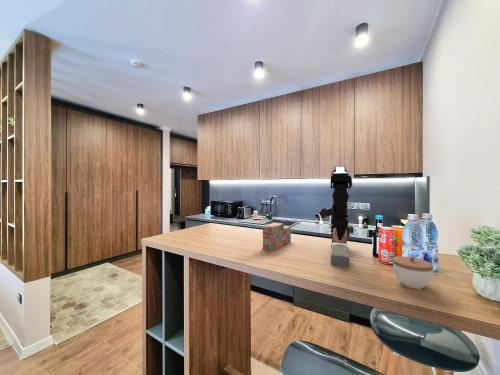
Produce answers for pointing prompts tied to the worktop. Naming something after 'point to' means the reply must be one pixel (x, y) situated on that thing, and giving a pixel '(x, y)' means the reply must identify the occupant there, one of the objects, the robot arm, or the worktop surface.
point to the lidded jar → (412, 271)
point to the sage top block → (340, 249)
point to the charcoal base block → (340, 260)
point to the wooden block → (335, 237)
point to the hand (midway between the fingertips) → (340, 238)
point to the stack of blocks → (276, 236)
